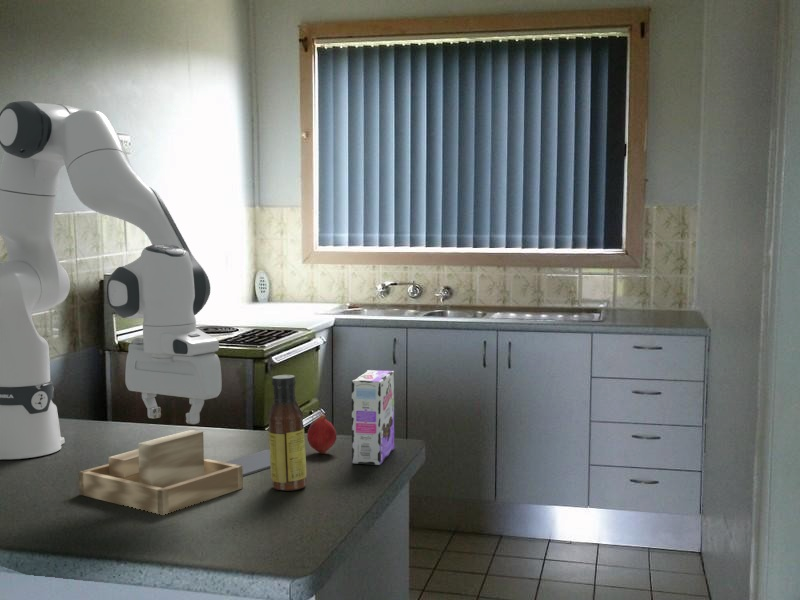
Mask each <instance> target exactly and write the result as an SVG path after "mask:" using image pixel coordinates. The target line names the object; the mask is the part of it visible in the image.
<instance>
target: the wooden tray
mask: <svg viewBox="0 0 800 600" xmlns="http://www.w3.org/2000/svg"><path fill="white" fill-rule="evenodd" d="M225 462H226V461H220V460H214V459H209V458H205V457H204V475H203V476H200V477H197V478H194V479H190V480H187V481H184V482H181V483H178V484H174V485H171V486H168V487H165V488H160V487H156V486H152V485H147V484H143V483H138V482H134V481H130V480H125V479H121V478H116V477H112V476H108V475H109V463H107V464H103V465H100V466H99V465H98V466H95V467H92V468H88V469H84V470H81V471H78V485H79V486H78V487H79V488H78V491H79V496H85V497H87V498H92V499H95V500H100V501H104V502H108V503H111V504H112V503H113V504H114V505H115V504H116V505H120V506H123V505H124V507H127V506H129V507H128V508H131V507H133V508H132V509H135V508H136V510H139V509H141V510H140V511H143V510H145V511H144V512H147V511H148V513H151V512H152V513H151V514H155V513H156V515H159V514H160V515H159V516H166V515H168V513H169V514H171V512H172V513H174V511H175V512H177V511H180V510H183V509H186V508H189V507H192V506H195V505H198V504H201V503H203V501H204V502H206V501H209V500H212V499H216V498H218V497H220V496H223V495H224V496H225V495H226V494H227V495H228V494H229V493H232V492H236V491H238V490H241V489H244V479H243V477H244V476H243V467H242V466H241V465H236V464H230V463H225ZM200 502H201V503H200ZM194 504H195V505H194ZM191 505H192V506H191ZM188 506H189V507H188ZM185 507H186V508H185ZM179 509H180V510H179ZM176 510H177V511H176ZM165 514H166V515H165Z"/></svg>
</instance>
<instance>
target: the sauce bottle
mask: <svg viewBox="0 0 800 600" xmlns="http://www.w3.org/2000/svg"><path fill="white" fill-rule="evenodd" d="M271 384H272V386H273V387H272V388H273V403H272V405H271V407H270V410H269V411H268V442H269V446H268V447H269V450H270V465H271V468H270V479H271V484H272V487H273V488H274V489H275V490H277V491H284V492H285V491H286V492H290V491H298V490H301V489H304V488H305V487H306V485H307V476H308V475H307V460H306V459H307V458H306V457H307V456H306V441H305V439H306V438H305V427H304V422H303V420H304V419H303V415H304V414H303V411H302V410H301V408H300V406H299V404H298V402H297V400H296V376H295V375H294V374H279V375H274V376H271Z"/></svg>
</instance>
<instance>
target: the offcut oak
mask: <svg viewBox="0 0 800 600" xmlns="http://www.w3.org/2000/svg"><path fill="white" fill-rule="evenodd" d="M108 476H112V477H116V478H121V479H125V480H130V481H134V482H138V483H139V474H138V473H137V474H134V475H131V476H127V477H121V476H117V475H112V474H109V475H108Z"/></svg>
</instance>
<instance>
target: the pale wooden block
mask: <svg viewBox="0 0 800 600" xmlns="http://www.w3.org/2000/svg"><path fill="white" fill-rule="evenodd" d="M204 448H205V447H204V431H200V430H194V429H189V430H185V431H181V432H177V433H173V434H169V435H165V436H162V437H158V438H153V439H150V440H146V441H142V442H138V444H137V449H138V453H139V483H143V484H147V485H152V486H156V487H160V488H165V487H168V486H171V485H174V484H178V483H181V482H184V481H187V480H190V479H194V478H197V477H200V476H203V475H204V458H205V454H204V453H205V450H204Z"/></svg>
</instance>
